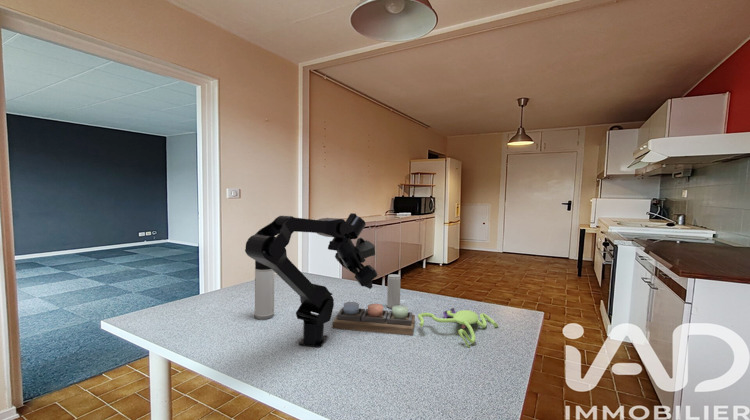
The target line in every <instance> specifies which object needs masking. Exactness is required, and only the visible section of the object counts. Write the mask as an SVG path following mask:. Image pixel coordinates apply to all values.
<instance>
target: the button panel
mask: <svg viewBox="0 0 750 420" xmlns="http://www.w3.org/2000/svg"><path fill="white" fill-rule="evenodd" d="M415 316H416V315H415V314H413V312H412V311H411V312H409V311H408V317H407V318H403V319H399V318H394V317H393V316H392V310H384V309H383V315H382V316H378V317H374V316H369V315H368V308H360V307H359V313H357V314H353V315H349V314H345V313H344V306H343V307H342V308H341V309H340V310H339V311H338V313H337V314H336V317H335V318H334V320H333V321H332V329H336V330H344V331H345V330H347V331H359V332H368V333H382V334H391V335H403V336H413V335H414V328H415V322H416V321H415V319H416V317H415Z"/></svg>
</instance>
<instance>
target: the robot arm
mask: <svg viewBox="0 0 750 420" xmlns="http://www.w3.org/2000/svg"><path fill="white" fill-rule="evenodd" d="M366 225H367V224H366V221H365V220H364V219H363V218H361V216H358V215H357V214H356V213H350V214H349V215H348V217H347V218H346V220H345V219H344V218H336V217H335V218H333V217H325V218H318V219H310V218H302V217H301V218H300V217H294V216H291V215H279V216H277V217H275V218H274V220H273V221H272V222H270V223H268V224H267V225H264V227H262V228H260V229H259V230H258V231H257V232H256V233H254V234H253V235H251V236H249V238H248V239H247V241H246V242H245V249H244V251H245V254H246V255H247V256H248V257H250V258H251V259H253V260H254V261H255V260H256V261H257V262H259V263H262V264H264V265H266V266H268V267H270V268H271V269H272V270H273V271H274V274H276V275H277V276H279V277H280V278H281V280H283V281H284V283H286V284H287V285H288V286H289V287H290V288H291V289H292V290H293V291H294V292H295V293H296V294H297V295H298V296H299V298H300V299H299V301H300V305H299V307H298V308H297V310H296V312H295V316H296V318H297V320H301V321H303V322H302V323H303V326H302V332H303V333H302V334H303V336H302V337H303V338H302V339H301V340H299V342H298V346H306V347H308V346H309V347H316V348H320V347H322V346H323V345H324V344H325V342H326V340H327V339H328V337H329V336H328V335H325V324H326V323H328V322H330V321H331V320H332V319H331V318H332V315H333V311H334V305H335V300H334V297H333V293H332V292H330V291H329V289H328V287H327V286H324V285H321V284H317V283H316V284H315V283H312V282H311V281H310V280H309V279H308V277H306V276H305V275H304V274H303V273H302V272H301V270H300V269H299V268H298V267H297V266H296V265H295V264H294V263H293V262H292V261H291V260H290V259H289V258H288V255H287V249H286V247H287V246H288V245H289V244H290V241H291V237H292V235H293V234H294V232H296V233H297V232H299V233H311V234H312V233H314V234H317V235H319V236H323V237H327V238H328V237H329V238H332V240H330V241H329V244H328V247H327V250H329V251H336V253H335V255H334V258H335V259H336V261H337V262H338V263H339V264H340V265H341V267H343V268H344V269H346V270H348V271H349V272H351V273H352V274H354V278H355V280H356V282H358V284H359V285H360V286H361V287H366V288H367V289H369V290H370V289H372V288H373V280H374V279H375V278H376V277H378V272H377V270H376V269H375V268H374V267H373V266H371V265H370V264H366V265H364V264H363V263H364V262H366V259H367V258H369V257H372V256H375V255H376V246H375V245H374V243H372V242H371V241H370V240H366V239H365V240H364V239H363V238H362V237H359V236H360V235H361V233H362V231H363V230H364V229H365V227H366ZM353 240H356V242H355V243H353Z"/></svg>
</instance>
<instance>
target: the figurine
mask: <svg viewBox="0 0 750 420" xmlns="http://www.w3.org/2000/svg"><path fill="white" fill-rule="evenodd" d="M442 313H443V316H444V318H441V317H440V318H439V317H437V316H435V314H434V313H432V312H422V313H418V314H417V318H418V320H419V321H420V322H419V327H420V328H423V326H424V325H425V319H424V318H425V317H428V318H431V319H432V320H433V321H435V322H438V323H441V324H443V323H445V324H446V323H448V324H449V323H458V324H460V325H461V326H460V327H461V328H460V329H457V332H458V335H459V337H460V338H462V340H463V342H464V344H465V345H466V346H467V347H468V348H469V349H471V346H470V344H469V343H471V344H474V343H475V342H476V335H475V331H474V329H473V327H472V325H474V324H477V325H478V326H479V327H481V328H483V329H484V328H486V326H487V321H488V322H489V323H490V324H492V325H493V326H494V327H495V328H497V327H498V326H499V324H498V323H497V322H496V321H495V320H494V319H493V318H491V317H490V316H489V315H487V314H486V313H484V312H482V313H480V314H479V315H478V313H477V312H475V311H473V310H469V309H468V310H467V309H464V310H458V311H457V312H456V310H455V308H454V307H453V308H450V309H448V310H444V311H443V312H442ZM479 318H480V320H481V321H480V320H479ZM486 320H487V321H486ZM466 327H467V329H468V332H469V334H470V336H471V337H470V336H469V334H468V333H467V331H466V330H465V328H466Z"/></svg>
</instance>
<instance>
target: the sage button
mask: <svg viewBox="0 0 750 420" xmlns="http://www.w3.org/2000/svg"><path fill="white" fill-rule="evenodd" d="M391 311H392V316H393V317H394V318H399V319H403V318H407V317H408V312H409V308H408V306H405V305H401V304H400V305H397V306H393V307H392V309H391Z"/></svg>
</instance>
